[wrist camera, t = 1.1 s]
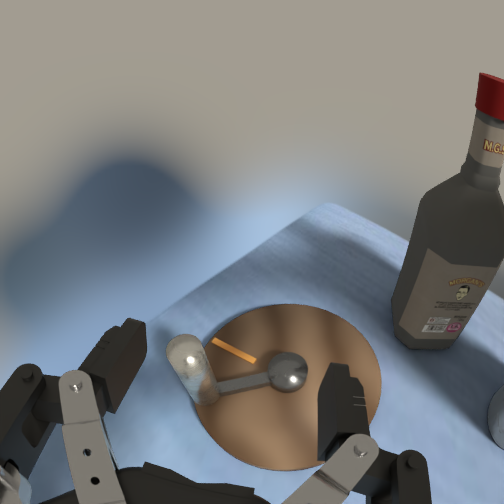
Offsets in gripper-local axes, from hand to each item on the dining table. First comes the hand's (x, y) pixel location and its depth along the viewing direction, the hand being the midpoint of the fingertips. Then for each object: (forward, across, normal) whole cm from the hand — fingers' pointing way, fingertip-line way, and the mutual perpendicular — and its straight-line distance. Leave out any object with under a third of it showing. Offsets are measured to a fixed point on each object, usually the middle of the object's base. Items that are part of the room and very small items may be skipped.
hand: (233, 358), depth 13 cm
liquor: (+22, -22, +11) cm, 33 cm away
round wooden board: (+14, -5, +16) cm, 22 cm away
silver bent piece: (+12, -1, +16) cm, 20 cm away
